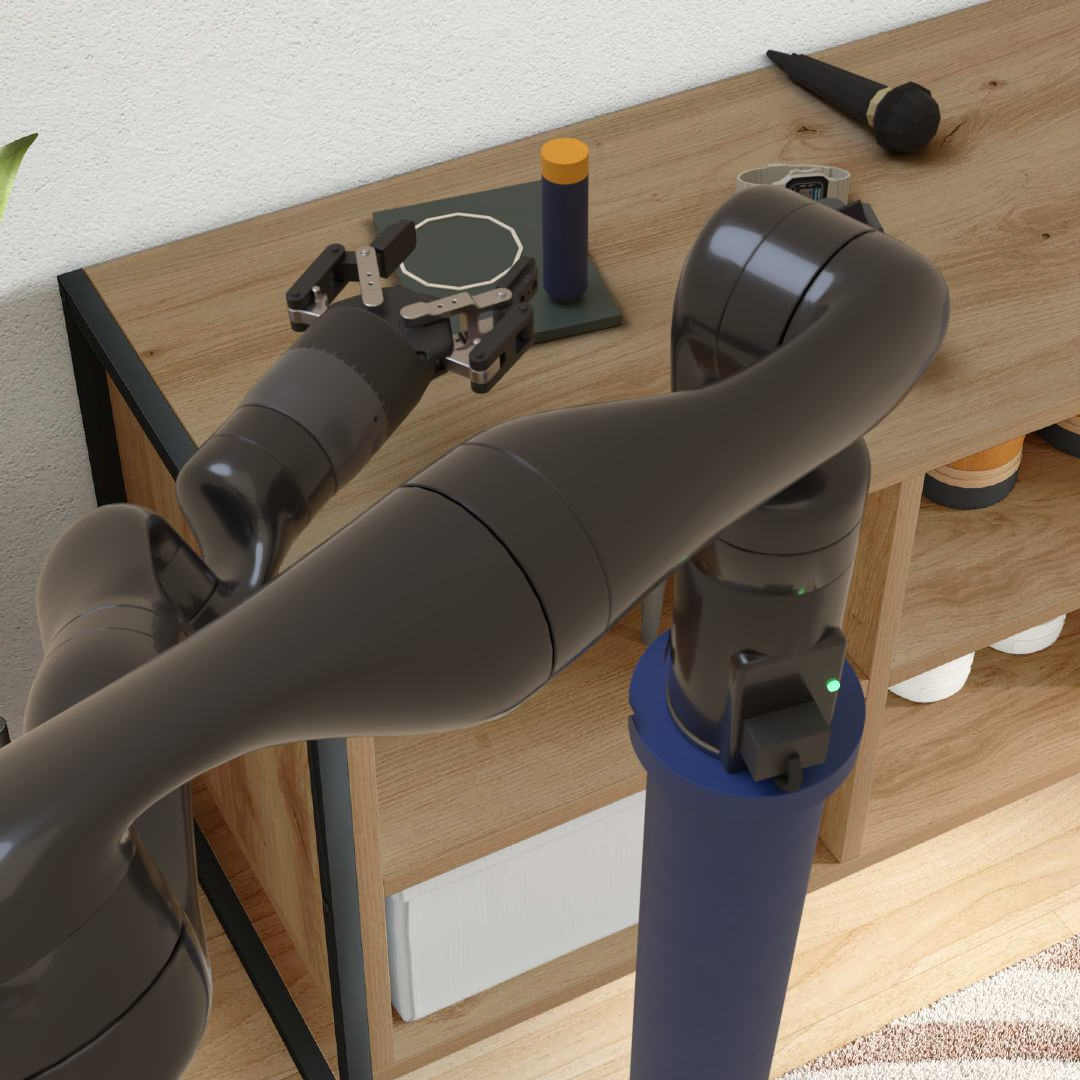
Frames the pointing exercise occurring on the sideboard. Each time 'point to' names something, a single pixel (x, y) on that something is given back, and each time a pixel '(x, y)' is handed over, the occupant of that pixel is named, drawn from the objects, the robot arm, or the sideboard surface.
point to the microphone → (869, 101)
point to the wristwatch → (800, 180)
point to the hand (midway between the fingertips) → (469, 249)
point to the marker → (565, 218)
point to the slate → (492, 256)
